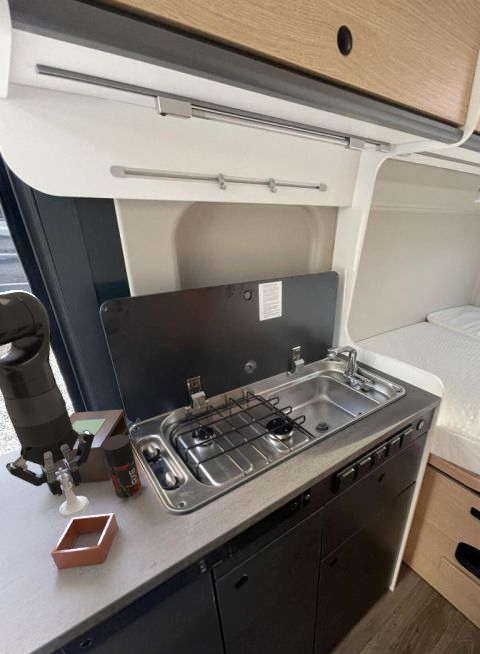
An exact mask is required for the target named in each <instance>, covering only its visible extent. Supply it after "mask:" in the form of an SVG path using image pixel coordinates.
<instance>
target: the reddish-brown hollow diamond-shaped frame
mask: <svg viewBox="0 0 480 654" xmlns="http://www.w3.org/2000/svg"><path fill="white" fill-rule="evenodd" d="M118 529H119V524H118V521H117V519H116V515H115V512H112V513H102V514H91V515H83V516H75V517H71V518H70V520H69V522H68V524H67V526H66V527H65V529H64V531H63V532H62V533H61V535H60V538H59V539H58V541H57V542H56V544H55V546H54V548H53V549H52V551H51V552H50V556H51V558H52V559H53V562H54V565H55V566H56V568H57V570H60V569H68V568H76V567H83V566H85V567H86V566H90V565H91V566H92V565H93V566H94V565H99V564H105V561H106V559H107V556H108V554H109V551H110V549H111V546H112V544H113V542H114V539H115V537H116V534H117V532H118ZM97 532H102V533H101V535H100V538H99V539H98V542H97V545H94V546H87V547H77V548H73V546H74V545H75V543H76V540H77V538H78V537H79V535H80V534H91V533H97Z"/></svg>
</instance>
